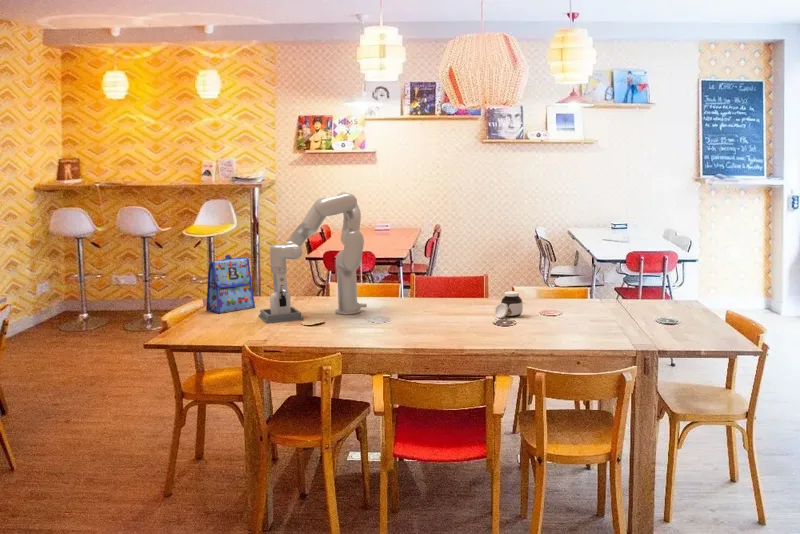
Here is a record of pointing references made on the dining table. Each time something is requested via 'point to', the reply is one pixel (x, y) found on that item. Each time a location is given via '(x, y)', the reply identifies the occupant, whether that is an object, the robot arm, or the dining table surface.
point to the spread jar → (510, 305)
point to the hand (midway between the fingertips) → (280, 304)
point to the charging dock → (280, 316)
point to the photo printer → (275, 304)
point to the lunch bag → (229, 285)
